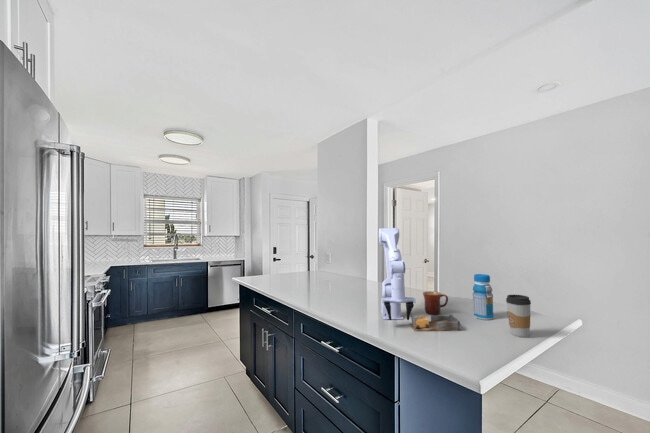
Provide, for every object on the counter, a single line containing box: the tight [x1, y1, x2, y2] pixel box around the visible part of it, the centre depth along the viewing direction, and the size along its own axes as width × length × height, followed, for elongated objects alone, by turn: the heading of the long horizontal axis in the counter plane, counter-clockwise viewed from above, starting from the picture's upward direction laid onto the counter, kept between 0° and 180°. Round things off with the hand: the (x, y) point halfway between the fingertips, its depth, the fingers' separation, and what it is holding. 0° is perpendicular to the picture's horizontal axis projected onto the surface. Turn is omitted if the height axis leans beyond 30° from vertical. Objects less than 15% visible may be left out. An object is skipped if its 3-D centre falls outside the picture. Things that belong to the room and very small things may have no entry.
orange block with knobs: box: [410, 313, 429, 329], centre depth 128 cm, size 6×6×5 cm
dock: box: [408, 314, 461, 333], centre depth 128 cm, size 19×10×5 cm, turn 87°
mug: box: [422, 290, 449, 316], centre depth 148 cm, size 12×9×10 cm
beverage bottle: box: [472, 273, 495, 321], centre depth 140 cm, size 8×8×20 cm
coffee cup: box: [505, 294, 532, 339], centre depth 117 cm, size 8×8×15 cm
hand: (398, 319), depth 129 cm, fingers open, 7 cm apart
